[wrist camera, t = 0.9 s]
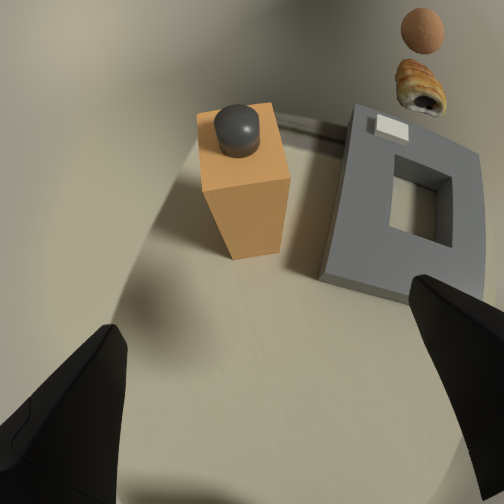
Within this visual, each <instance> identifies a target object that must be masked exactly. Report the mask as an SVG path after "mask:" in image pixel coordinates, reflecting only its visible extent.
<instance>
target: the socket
mask: <svg viewBox="0 0 504 504" xmlns="http://www.w3.org/2000/svg"><path fill="white" fill-rule="evenodd" d="M394 175H395V176H398V177H401V178H403V179H406V180H409V181H411V182H414V183H417V184H419V185H422V186H425V187H427V188H430V189H432V190H435V191H437V224H436V242H433V241H431V240H428V239H425V238H422V237H419V236H416V235H413V234H410V233H407V232H404V231H401V230H398V229H395V228H392V227H389V220H390V211H391V201H392V190H393V176H394ZM485 257H486V228H485V206H484V193H483V183H482V174H481V167H480V160H479V155H478V154H477V153H475V152H473V151H471V150H469V149H467V148H465V147H464V146H461V145H459V144H458V143H456V142H453V141H451V140H449V139H447V138H445V137H443V136H441V135H438V134H436V133H434V132H432V131H429V130H427V129H424V128H422V127H420V126H417V125H415V124H412V123H410V122H407V121H405V120H402V119H400V118H397V117H394V116H391V115H389V114H386V113H383V112H380V111H377V110H374V109H371V108H368V107H365V106H361V105H358V104H355V105H354V108H353V111H352V114H351V117H350V120H349V123H348V129H347V136H346V142H345V148H344V154H343V160H342V166H341V172H340V177H339V183H338V188H337V193H336V198H335V204H334V208H333V213H332V218H331V223H330V228H329V232H328V237H327V241H326V246H325V250H324V254H323V259H322V263H321V267H320V271H319V275H318V279H317V280H318V281H322V282H325V283H329V284H333V285H336V286H340V287H344V288H348V289H351V290H355V291H359V292H362V293H366V294H370V295H374V296H377V297H381V298H385V299H389V300H393V301H396V302H400V303H404V304H408V305H409V302H408V296H409V292H410V287H411V283H412V279H413V277H415V276H417V275H421V274H427V275H429V276H431V277H433V278H435V279H438V280H440V281H442V282H444V283H446V284H448V285H450V286H452V287H454V288H456V289H459V290H461V291H463V292H465V293H467V294H469V295H471V296H473V297H475V298H477V299H479V300H481V301H483V291H484V278H485Z"/></svg>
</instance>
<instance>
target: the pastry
mask: <svg viewBox="0 0 504 504" xmlns="http://www.w3.org/2000/svg"><path fill="white" fill-rule="evenodd" d="M395 80H396V83H397V84H396V91H397V100H398V101H399V103H400V105H401V106H402V107H404V108H405V109H409V110H412V111H416V112H421V113H425V114H428V115H431V116H433V117H440V116H442V115H444V114H445V113H446V105H447V104H446V97H445V94H444V91H443V89H442V84H441V83H440V82H439V81H437V80H436V78H435V77H434V75H433V73H432V72H431V71H430V70H428V68H427V67H425V66H424V65H421V64H420V63H418V62H416V61H415V60H412V59H406V60H403V61H402V62H401V63H400V65H399V66H398V68H397V73H396V74H395Z"/></svg>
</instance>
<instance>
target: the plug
mask: <svg viewBox="0 0 504 504" xmlns="http://www.w3.org/2000/svg"><path fill="white" fill-rule="evenodd" d="M197 126H198V142H199V156H200V169H201V182H202V192H203V194H204V197H205V199H206V201H207V203H208V206H209V208H210V210H211V212H212V215H213V217H214V219H215V221H216V224H217V226H218V228H219V230H220V232H221V235H222V237H223V239H224V241H225V243H226V246H227V248H228V250H229V252H230V254H231V257H232V259H233V260H236V259H243V258H249V257H255V256H262V255H268V254H275V253H279V251H280V245H281V239H282V232H283V226H284V219H285V213H286V206H287V200H288V193H289V186H290V179H291V178H290V174H289V169H288V165H287V161H286V157H285V153H284V149H283V145H282V142H281V138H280V134H279V130H278V126H277V123H276V119H275V115H274V111H273V108H272V104H271V103H263V104H255V105H247V106H246V105H240V104H237V105H231V106H228V107H225V108H223V109H221V110H215V111H210V112H204V113H199V114H197Z"/></svg>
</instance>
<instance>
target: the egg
mask: <svg viewBox="0 0 504 504" xmlns="http://www.w3.org/2000/svg"><path fill="white" fill-rule="evenodd" d="M401 35H402V38H403V40H404V42H405V43H406V45H407V46H408V47H409V48H410V49H411V50H413V51H414V52H416V53H420V54H431V53H433V52H435V51H437V50H438V49H439V48H440V47H441V45H442V43H443V40H444V28H443V25H442V21H441V20H440V18H439V17H438V16H437V14H436V13H435V12H433V11H432V10H430V9H427V8H418V9H415V10H413V11H411V12H410V13H408V14H407V15H406V16H405V18H404V19H403V21H402V24H401Z"/></svg>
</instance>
